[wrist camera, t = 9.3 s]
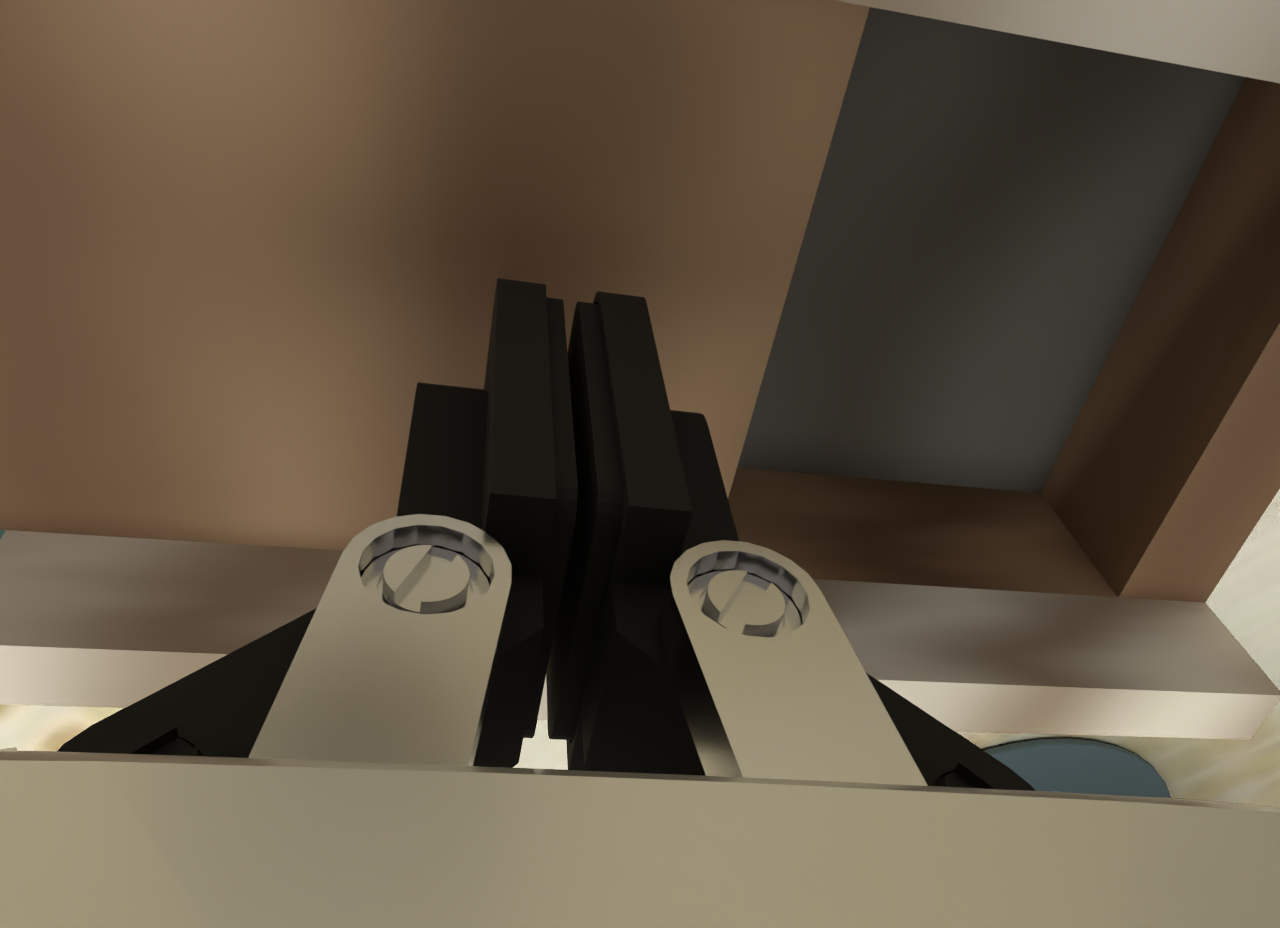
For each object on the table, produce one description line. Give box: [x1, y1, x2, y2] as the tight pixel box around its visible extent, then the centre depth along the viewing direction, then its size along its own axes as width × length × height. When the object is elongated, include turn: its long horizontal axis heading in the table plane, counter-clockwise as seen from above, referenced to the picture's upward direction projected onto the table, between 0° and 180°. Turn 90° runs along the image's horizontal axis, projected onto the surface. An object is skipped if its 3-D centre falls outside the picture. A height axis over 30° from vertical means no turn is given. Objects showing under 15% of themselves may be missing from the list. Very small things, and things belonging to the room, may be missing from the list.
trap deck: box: [0, 0, 1280, 740], centre depth 15 cm, size 32×13×6 cm, turn 79°
